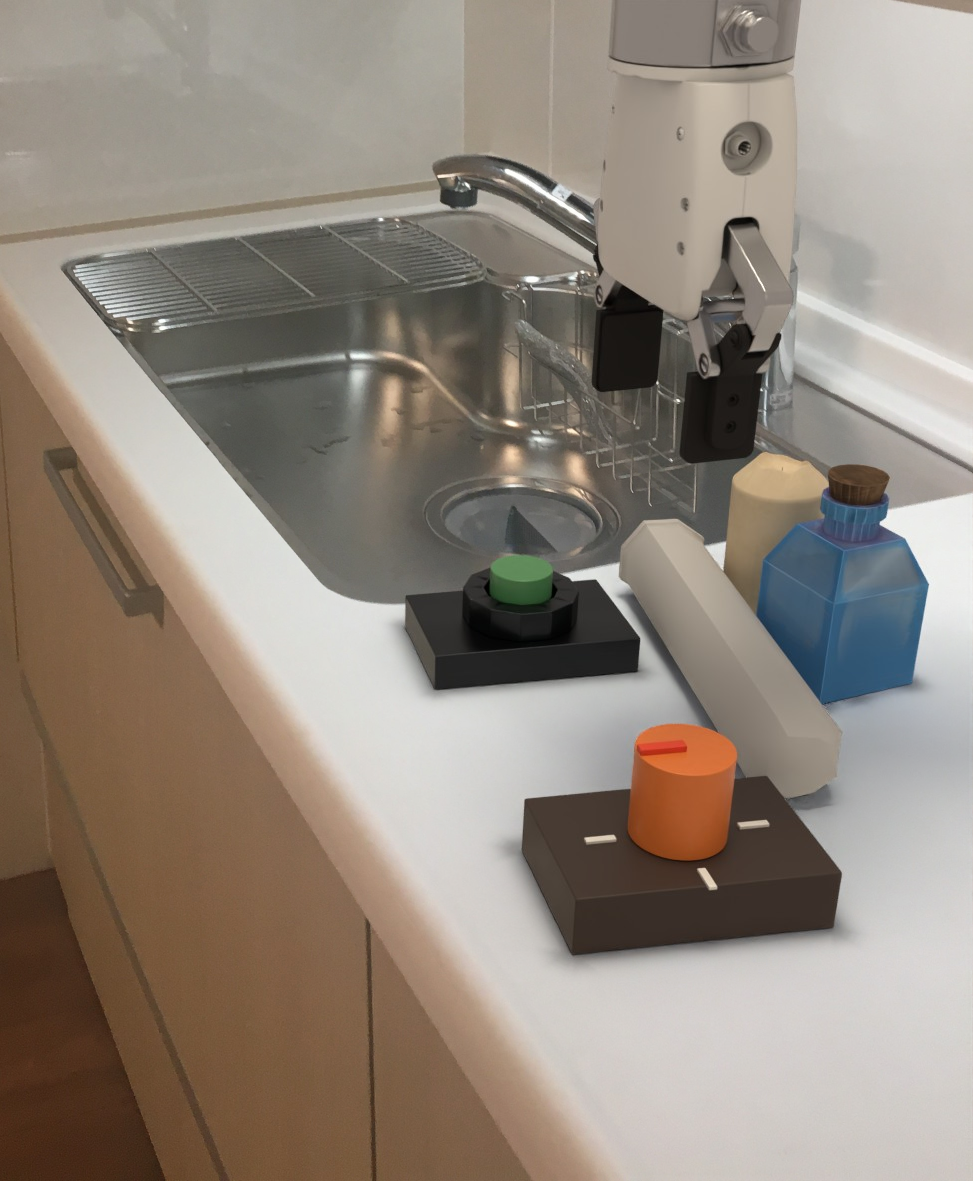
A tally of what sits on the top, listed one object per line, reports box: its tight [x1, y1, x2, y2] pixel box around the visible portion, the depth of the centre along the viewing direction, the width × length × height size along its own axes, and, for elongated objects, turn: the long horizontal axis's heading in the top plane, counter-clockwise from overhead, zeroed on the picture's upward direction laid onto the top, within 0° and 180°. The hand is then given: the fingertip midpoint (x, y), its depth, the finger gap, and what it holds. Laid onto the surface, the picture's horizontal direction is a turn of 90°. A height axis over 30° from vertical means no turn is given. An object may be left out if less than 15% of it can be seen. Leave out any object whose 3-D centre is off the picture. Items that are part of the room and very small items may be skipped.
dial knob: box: [628, 723, 737, 861], centre depth 73 cm, size 4×4×5 cm
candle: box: [722, 451, 829, 615], centre depth 97 cm, size 6×6×10 cm
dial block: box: [521, 776, 843, 955], centre depth 74 cm, size 12×9×3 cm
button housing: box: [404, 567, 641, 690], centre depth 95 cm, size 12×8×4 cm, turn 96°
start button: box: [489, 554, 554, 605], centre depth 94 cm, size 4×4×2 cm
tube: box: [618, 518, 843, 800], centre depth 90 cm, size 5×5×25 cm
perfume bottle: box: [756, 463, 930, 705], centre depth 90 cm, size 6×6×12 cm
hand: (667, 421), depth 74 cm, fingers open, 9 cm apart
